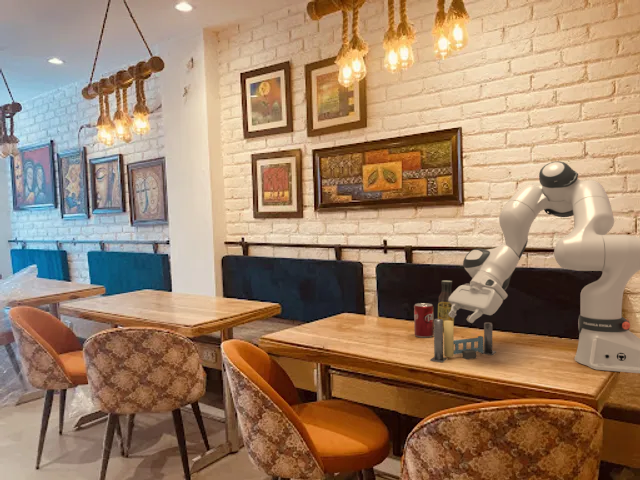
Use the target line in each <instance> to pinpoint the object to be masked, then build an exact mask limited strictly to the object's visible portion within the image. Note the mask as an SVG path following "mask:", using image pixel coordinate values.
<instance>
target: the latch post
mask: <svg viewBox="0 0 640 480" xmlns="http://www.w3.org/2000/svg"><path fill="white" fill-rule="evenodd" d="M433 345H434V346H433V348H434V349H433V351H434V352H433V354H434V355H433V357H432V358H430V362H436V363H444V362H445V361H447V360H448V357H445V356H444V332H443V319H438V318H434V335H433Z"/></svg>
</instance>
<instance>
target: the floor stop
mask: <svg viewBox="0 0 640 480" xmlns="http://www.w3.org/2000/svg"><path fill="white" fill-rule="evenodd" d="M461 357H462V359H465V360H468V361H469V360H473V359H477V352H476V351H474V350H466V351H462V354H461Z"/></svg>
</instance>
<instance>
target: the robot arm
mask: <svg viewBox="0 0 640 480" xmlns="http://www.w3.org/2000/svg"><path fill="white" fill-rule="evenodd" d="M538 176H539V177H538V178H539V179H538V180H539V183H540V185H536V184H533V183H528V184H524V185H523V186H521V188H520V189H518V190H516V192H514V194H513V195H512V196H511V197H510V198H509V200H508V201H507V202H506V204H504V206H503V207H502V209H501V211H500V213H499V216H498V220H499V226H500V228H501V231H502V234H503V236H504V241H505V244H504V243H502V244H499V245H498V246H496V247H494V248H493V247H492V248H490V249H489V248H488V249H485V248H473V249H471V250H470V251H468V253H467V254H466V255H465V257H464V258H463V261H462V267H464V270H465V271H466V272H467V273H468V275H469V276H470V277H471V280H470V281H469V283H464V284H462V285H459V286H458V287H457V288H456V289H455V290H453V292H452V294H451V295H450V297H449V299H448V301H449V302H450V304H451V305H452V307H451V311H450V312H449V314H448V315H449V316H450V317H452V318H454V319H455V318H456V316H457V315H458V314H457V311H459V310H460V309H462V310H467V311H470V312H473V313H472V314H469V315H468V316H467V318H466V321H467V322H468V323H471V324H473V323H474V322H475V321H476V320H477V319H479V318H480V317H482V316H483V315H487V316H493V314H495V313H496V312H497V311H498V310H499V308H500V307H501V305H502V304H503V302H504V300H506V299H507V298H508V296H509V295H508V293H507V292H506V290H507V288H508V287H509V285H510V281H511V277H512V275H513V274H514V272H515V269H516V268H517V266H518V263H519V262H520V259H521V257H522V256H523V254H524V252H525V250H526V247H527V245H528V242H529V241H528V240H529V239H528V238H529V232H530V230H531V229H530V228H531V227H532V224H533V222H534V221H535V219H536V218H537V217H538V215H539V213H541V211H543V210H544V212H545V214H548V215H551V216H552V215H553V216H554V217H558V218H569V217H572V216H573V222H574V223H573V224H574V225H573V228H572V230H571V231H570V232H569V233H568V234H567V235H564V236H562V237H560V238H559V240H558V241H557V243H556V244H555V246H554V250H553V255H554V259H555V261H556V263H557V265H558V266H559V267H561V268H562V269H566V270H570V271H578V272H592V271H593V272H602V274H601V276H600V277H599V278H598V279H597V280H595V281H593V282H591V283H588V284H587V285H584V287H583V288H582V289H581V292H580V298H579V299H580V301H579V302H580V306H579V307H580V311H579V312H580V314H579V315H578V323H577V324H578V327H577V328H578V333H579V335H578V336H579V337H578V344H577V348H576V353H575V356H574V361H575V362H577V363H578V364H582V365H584V366H588V367H589V368H590V369H594V370H597V371H609V372H620V373H633V374H640V337H638V336H637V335H636V334H635V333H633V332H632V331H630V328H631V324H630V320H629V319H628V318H627V319H626V318H625V317H623V316H622V307H623V295H624V292H625V288H626V286H627V284H628V283H629V282H630V279H631V278H632V277H633V276H635V274H636V273H638V272H639V271H640V236H636V235H629V234H608V233H609V232H611V230H612V229H613V227H614V224H615V219H614V218H615V217H614V214H613V210H612V205H611V203H610V199H609V195H608V193H607V192H606V190H605V188H604V186H603V185H602V184H601V182H599V181H596V180H594V179H586V180H580V179H579V173H578V172H577V171H576V170H574V169H573V168H572V167H571V166H569V165H568V163H566V162H564V161H561V160H560V161H556V160H555V161H551V162H549V163H547V164H544V166H543V167H541V168H540V171H539V175H538Z"/></svg>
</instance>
